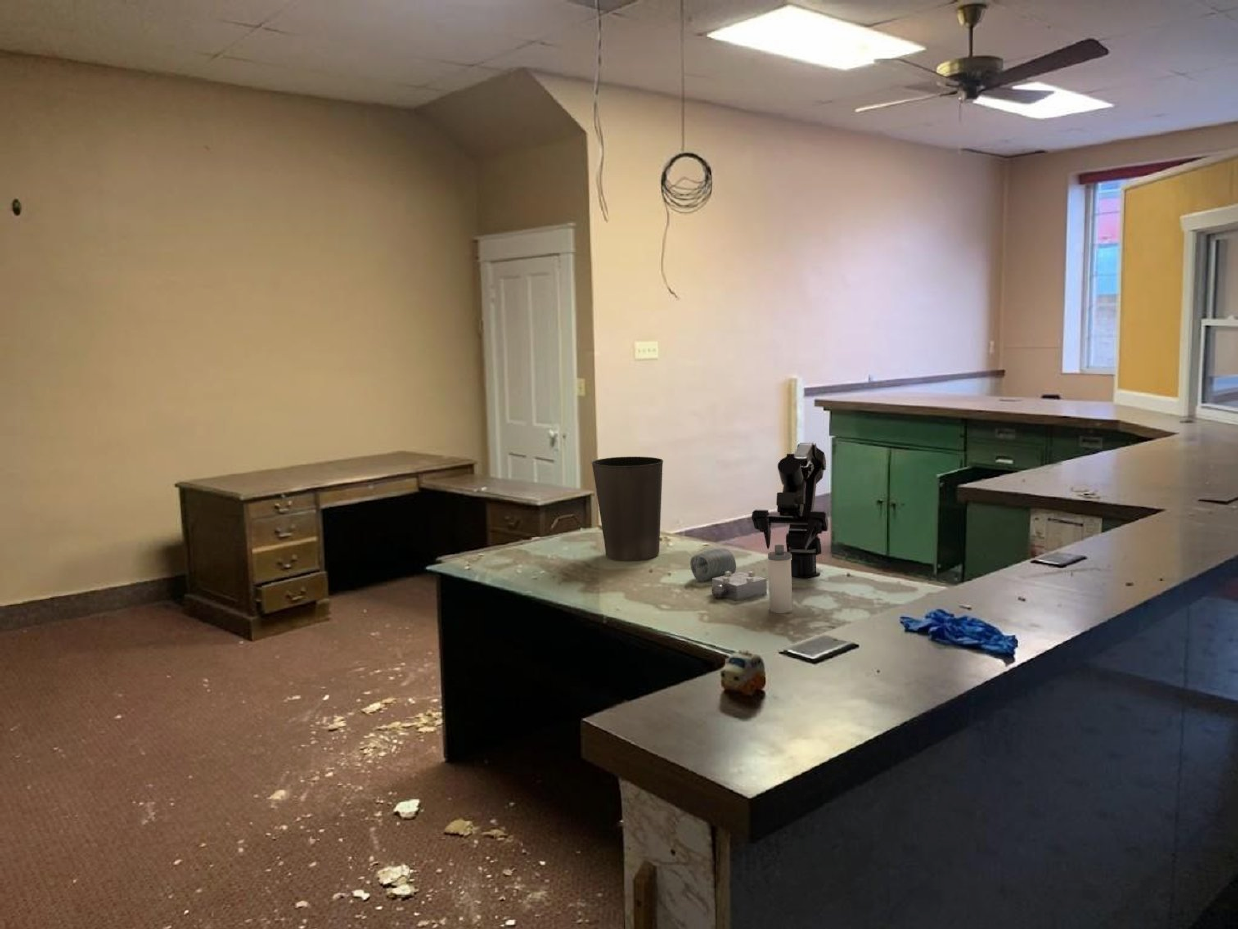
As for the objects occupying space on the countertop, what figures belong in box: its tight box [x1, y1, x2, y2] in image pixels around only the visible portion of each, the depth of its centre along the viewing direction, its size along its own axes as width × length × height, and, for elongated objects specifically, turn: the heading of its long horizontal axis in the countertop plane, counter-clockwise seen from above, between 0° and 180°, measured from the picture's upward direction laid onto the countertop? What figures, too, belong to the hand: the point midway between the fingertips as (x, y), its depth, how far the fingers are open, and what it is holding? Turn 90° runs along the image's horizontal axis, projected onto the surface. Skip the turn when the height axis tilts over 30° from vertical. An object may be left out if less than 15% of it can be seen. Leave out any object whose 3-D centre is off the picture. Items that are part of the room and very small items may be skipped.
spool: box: [690, 547, 737, 583], centre depth 258 cm, size 14×10×10 cm
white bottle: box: [767, 544, 793, 614], centre depth 224 cm, size 6×6×16 cm
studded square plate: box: [711, 571, 768, 602], centre depth 240 cm, size 13×10×5 cm
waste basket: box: [591, 456, 664, 562], centre depth 289 cm, size 27×20×30 cm
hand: (785, 548), depth 231 cm, fingers open, 9 cm apart
